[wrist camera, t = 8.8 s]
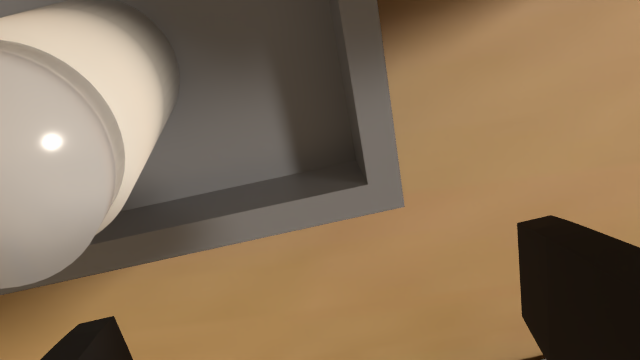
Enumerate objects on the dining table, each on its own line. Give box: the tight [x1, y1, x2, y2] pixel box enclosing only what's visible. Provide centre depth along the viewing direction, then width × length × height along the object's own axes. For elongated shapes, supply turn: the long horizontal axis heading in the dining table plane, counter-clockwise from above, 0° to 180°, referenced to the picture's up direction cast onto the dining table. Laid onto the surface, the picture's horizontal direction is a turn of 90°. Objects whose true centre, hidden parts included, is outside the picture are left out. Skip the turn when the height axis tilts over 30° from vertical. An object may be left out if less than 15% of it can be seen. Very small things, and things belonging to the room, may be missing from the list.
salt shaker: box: [0, 0, 180, 289], centre depth 12 cm, size 4×4×8 cm
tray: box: [0, 0, 404, 295], centre depth 15 cm, size 11×16×3 cm
